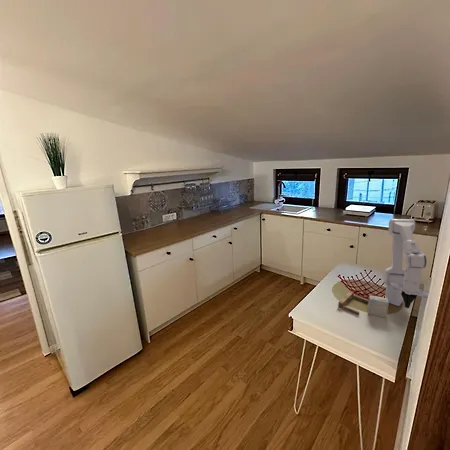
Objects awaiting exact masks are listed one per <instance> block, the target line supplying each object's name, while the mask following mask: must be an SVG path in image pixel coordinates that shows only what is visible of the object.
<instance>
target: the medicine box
mask: <svg viewBox="0 0 450 450" xmlns="http://www.w3.org/2000/svg"><path fill="white" fill-rule="evenodd" d="M368 300H369V302H368V303H367V315H370V316H376V317H379V318H380V317H381V318H386V319H387V317H388V311H389V304H390V303H389V302H388V298H384V296H382V297H381V296H377V295H372V294H371V295H368Z"/></svg>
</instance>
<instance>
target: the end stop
mask: <svg viewBox="0 0 450 450" xmlns="http://www.w3.org/2000/svg"><path fill="white" fill-rule="evenodd" d="M355 298H356V299H355ZM352 299H355V300H358V299H359V300H358V301H360V300H362V301H361V302H363V301H364V303H366V302H367V303H366V304H368V302H369V298H365V297H362V296H359V295H356V294H355V292H354V291H352V290H349V291H348V292H347V293H346V294H345V295H344V296H343V297H342V298H341V299H340V300H339V301H338V304H337V307H338V308H340V309H342V310H344V311H347V312H349V313H352V314H354V315H357V316H359V315H360V311H359V310H356V309H354V308H352V307H348V306H347V304H348V303H349V302H350V301H351V300H352Z"/></svg>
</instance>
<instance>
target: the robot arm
mask: <svg viewBox="0 0 450 450" xmlns="http://www.w3.org/2000/svg"><path fill="white" fill-rule="evenodd" d="M415 230H416V221H415V220H414V219H413V218H411V219H407V218H391V219H390V220H389V221H388V229H387V231H388V234H389V235H391V237H392V244H391V245H392V246H391V264H390V265H391V266H388V267H387V268H385V269H384V273H383V283H384V284H385V285H386V286H385V292H384V296H385V298H388V302H389V304H391V305H394V306H397V307H400V306H401V304H402V303H404V308H406V309H409V308H410V307H411V304H412V303H413V301H414V300H416V299H417V297H422V298H424V299H427V298H428V293H429V292H426V291H424V290H422V289H420V285H421V280H422V274H423V269H426V267H427V263H428V259H427V255H426V254H425V253H424V252H422V251H421V249H420V245H419V243H418V242H417V241H416V240H415V239H414V235H413V233H414V231H415ZM403 259H404V261H403ZM403 262H404V268H403Z"/></svg>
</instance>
